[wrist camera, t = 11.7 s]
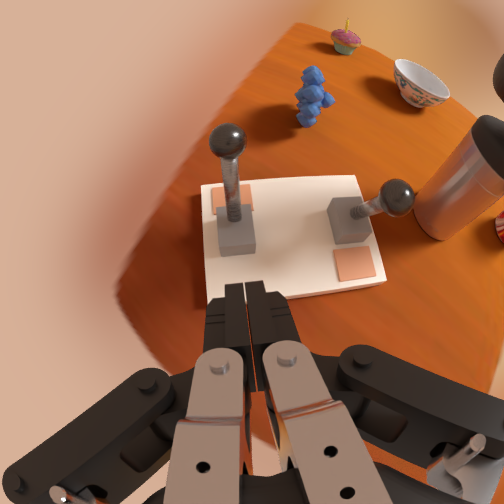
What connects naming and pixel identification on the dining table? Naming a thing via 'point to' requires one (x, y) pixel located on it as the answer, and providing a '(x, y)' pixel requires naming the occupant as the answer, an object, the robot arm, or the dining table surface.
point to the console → (290, 237)
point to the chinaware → (419, 84)
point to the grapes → (312, 97)
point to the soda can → (500, 226)
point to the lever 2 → (387, 201)
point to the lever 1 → (229, 164)
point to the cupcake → (345, 40)
